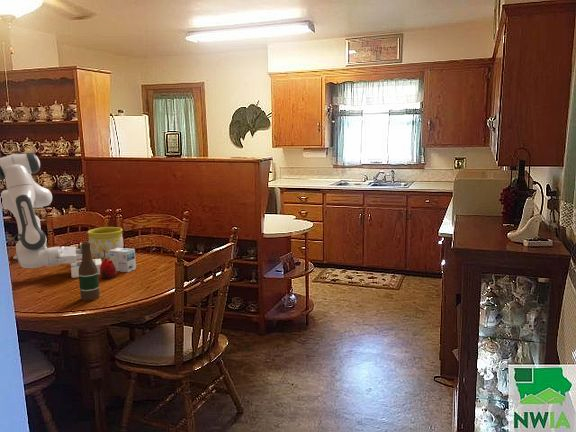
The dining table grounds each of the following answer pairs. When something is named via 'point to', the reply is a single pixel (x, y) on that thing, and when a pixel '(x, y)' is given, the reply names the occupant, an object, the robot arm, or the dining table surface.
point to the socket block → (76, 265)
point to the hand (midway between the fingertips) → (86, 253)
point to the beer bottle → (88, 275)
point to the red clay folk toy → (107, 268)
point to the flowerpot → (104, 241)
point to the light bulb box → (123, 259)
